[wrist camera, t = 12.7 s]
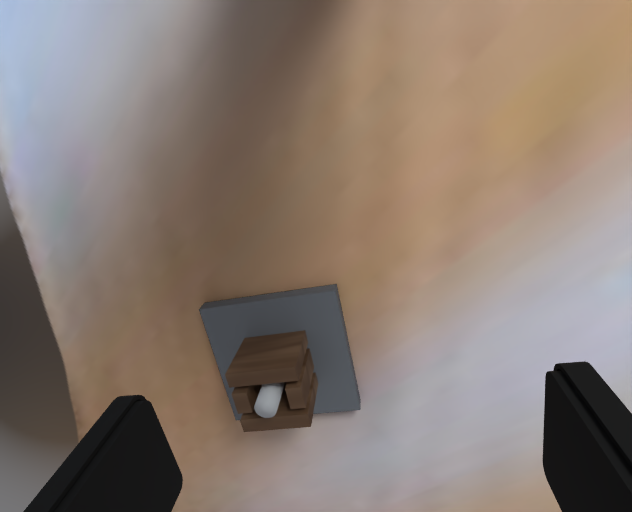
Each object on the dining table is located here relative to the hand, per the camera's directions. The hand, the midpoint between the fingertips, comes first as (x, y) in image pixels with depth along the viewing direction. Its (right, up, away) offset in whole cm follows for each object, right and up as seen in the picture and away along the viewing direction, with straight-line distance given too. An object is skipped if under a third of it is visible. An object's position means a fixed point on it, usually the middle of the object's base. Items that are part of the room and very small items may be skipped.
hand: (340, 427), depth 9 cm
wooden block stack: (-4, -7, +31) cm, 32 cm away
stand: (-4, -6, +33) cm, 33 cm away
